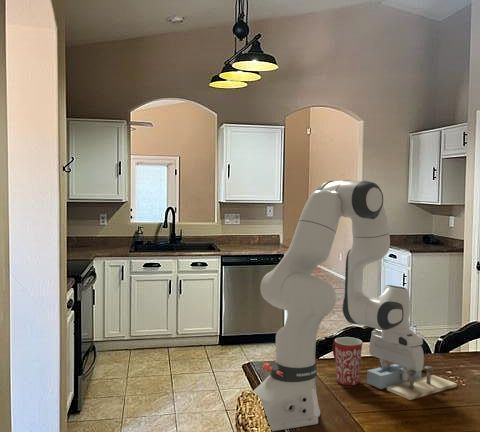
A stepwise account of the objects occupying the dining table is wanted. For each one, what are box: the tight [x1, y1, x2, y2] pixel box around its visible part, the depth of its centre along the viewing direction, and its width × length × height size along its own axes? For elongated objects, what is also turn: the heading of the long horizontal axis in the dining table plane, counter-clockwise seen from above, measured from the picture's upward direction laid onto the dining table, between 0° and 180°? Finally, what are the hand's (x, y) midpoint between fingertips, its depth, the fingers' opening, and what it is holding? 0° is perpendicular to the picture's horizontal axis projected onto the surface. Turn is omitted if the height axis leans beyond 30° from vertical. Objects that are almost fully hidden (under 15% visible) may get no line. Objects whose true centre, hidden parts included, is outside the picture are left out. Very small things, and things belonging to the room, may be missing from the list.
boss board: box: [386, 365, 458, 401], centre depth 160 cm, size 22×9×6 cm, turn 121°
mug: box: [332, 336, 364, 386], centre depth 167 cm, size 13×9×14 cm
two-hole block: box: [366, 363, 423, 390], centre depth 167 cm, size 19×6×4 cm, turn 121°
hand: (394, 376), depth 167 cm, fingers open, 6 cm apart
